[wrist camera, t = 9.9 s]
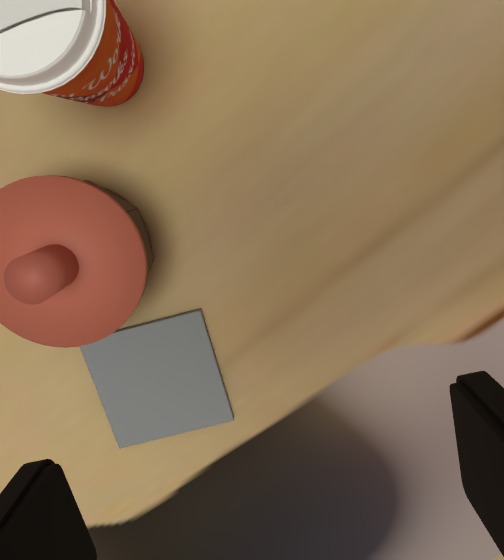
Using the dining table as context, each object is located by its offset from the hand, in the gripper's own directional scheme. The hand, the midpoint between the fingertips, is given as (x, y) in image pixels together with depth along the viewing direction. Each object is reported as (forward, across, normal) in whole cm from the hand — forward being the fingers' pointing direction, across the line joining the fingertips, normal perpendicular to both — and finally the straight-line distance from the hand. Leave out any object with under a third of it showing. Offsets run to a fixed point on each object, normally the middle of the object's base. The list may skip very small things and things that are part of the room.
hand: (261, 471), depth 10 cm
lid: (+21, +14, -3) cm, 25 cm away
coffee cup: (+28, +8, -16) cm, 33 cm away
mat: (+27, +12, +10) cm, 31 cm away
